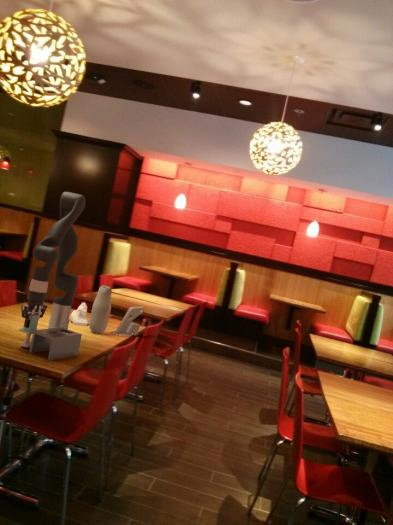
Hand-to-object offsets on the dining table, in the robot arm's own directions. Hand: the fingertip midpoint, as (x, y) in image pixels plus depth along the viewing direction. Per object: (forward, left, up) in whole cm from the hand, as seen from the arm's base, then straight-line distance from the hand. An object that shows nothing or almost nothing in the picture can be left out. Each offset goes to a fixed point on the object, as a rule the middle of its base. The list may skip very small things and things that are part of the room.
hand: (30, 327), depth 198 cm
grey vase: (-61, -7, -10) cm, 62 cm away
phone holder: (-80, +1, -10) cm, 81 cm away
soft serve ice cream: (-69, -27, -10) cm, 75 cm away
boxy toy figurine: (0, 0, -9) cm, 9 cm away
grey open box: (-5, +12, -9) cm, 16 cm away
